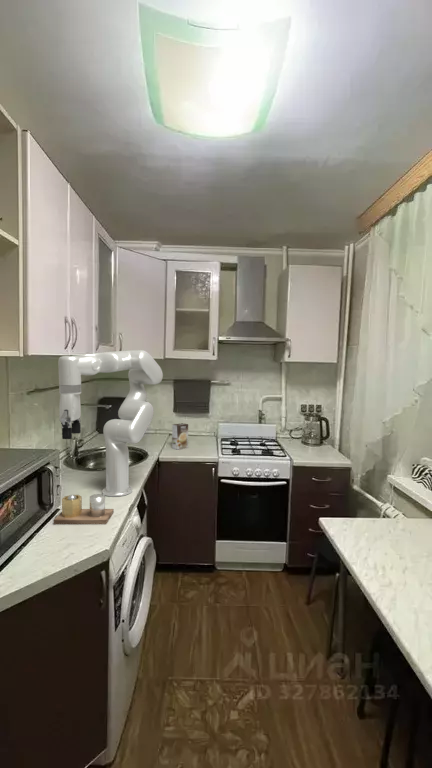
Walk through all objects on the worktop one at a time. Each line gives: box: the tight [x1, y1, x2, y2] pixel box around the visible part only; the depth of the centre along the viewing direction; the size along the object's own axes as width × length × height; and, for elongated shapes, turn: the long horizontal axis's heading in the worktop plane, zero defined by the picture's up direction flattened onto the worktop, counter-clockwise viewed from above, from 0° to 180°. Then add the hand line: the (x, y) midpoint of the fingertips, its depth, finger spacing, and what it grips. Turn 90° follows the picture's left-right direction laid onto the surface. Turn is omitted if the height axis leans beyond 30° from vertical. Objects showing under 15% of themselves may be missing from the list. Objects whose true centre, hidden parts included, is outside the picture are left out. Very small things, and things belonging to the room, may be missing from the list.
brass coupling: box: [61, 494, 83, 518], centre depth 132 cm, size 6×6×6 cm
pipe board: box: [53, 508, 114, 525], centre depth 132 cm, size 10×18×2 cm, turn 92°
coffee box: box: [171, 423, 189, 450], centre depth 248 cm, size 9×6×16 cm
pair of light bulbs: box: [67, 493, 106, 517], centre depth 132 cm, size 5×13×7 cm, turn 91°
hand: (71, 436), depth 136 cm, fingers open, 9 cm apart
